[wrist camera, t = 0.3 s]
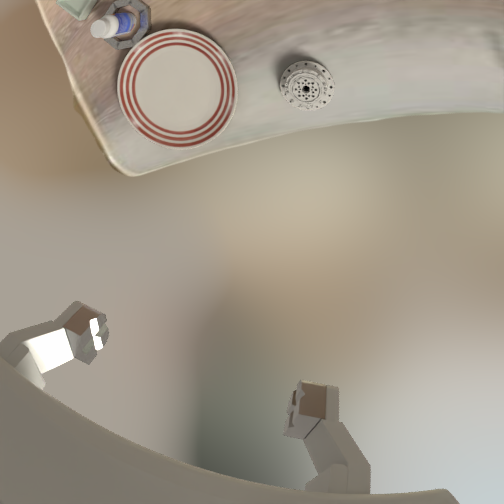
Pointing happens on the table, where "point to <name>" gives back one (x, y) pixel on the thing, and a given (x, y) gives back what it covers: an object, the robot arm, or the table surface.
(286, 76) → the mechanical component
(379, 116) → the table surface
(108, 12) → the collar
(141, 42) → the dinner plate
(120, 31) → the pill bottle
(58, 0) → the bin
